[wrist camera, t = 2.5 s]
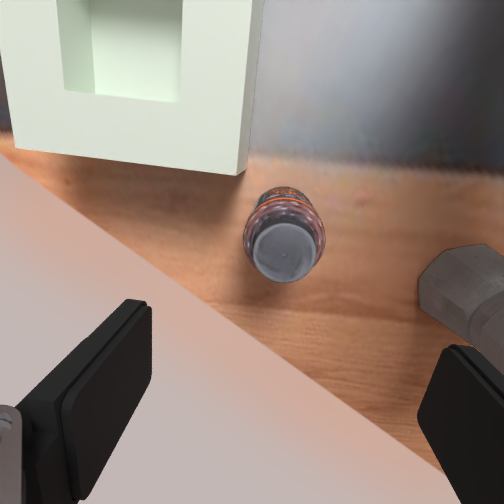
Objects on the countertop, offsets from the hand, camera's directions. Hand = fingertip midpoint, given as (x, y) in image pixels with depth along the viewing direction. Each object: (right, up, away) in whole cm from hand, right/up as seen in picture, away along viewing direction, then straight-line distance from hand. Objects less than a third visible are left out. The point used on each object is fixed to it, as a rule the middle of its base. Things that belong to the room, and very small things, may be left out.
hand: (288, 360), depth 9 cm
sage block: (-9, +20, +15) cm, 27 cm away
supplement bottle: (+2, +7, +19) cm, 21 cm away
